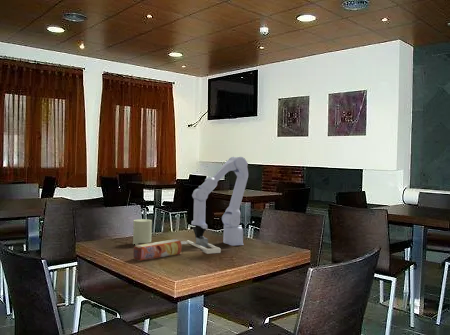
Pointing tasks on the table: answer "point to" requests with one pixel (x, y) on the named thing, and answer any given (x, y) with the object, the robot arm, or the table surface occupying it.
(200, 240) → the block
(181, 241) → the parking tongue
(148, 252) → the snack package
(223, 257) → the table surface
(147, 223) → the can
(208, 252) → the rail
